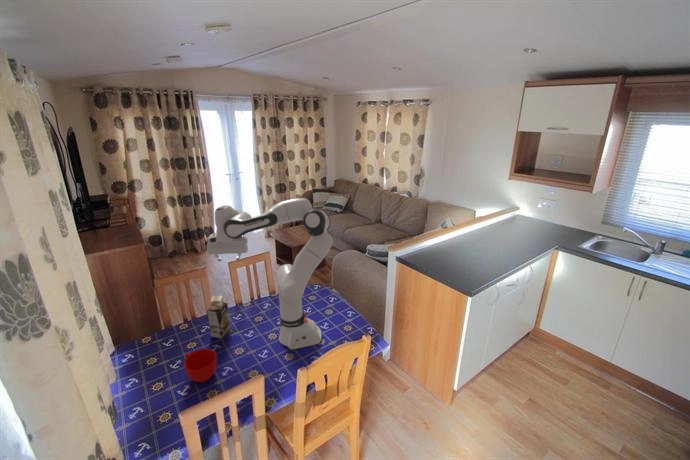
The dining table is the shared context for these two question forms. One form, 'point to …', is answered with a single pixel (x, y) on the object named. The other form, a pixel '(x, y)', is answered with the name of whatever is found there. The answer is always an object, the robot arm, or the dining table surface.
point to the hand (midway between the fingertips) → (229, 260)
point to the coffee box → (219, 321)
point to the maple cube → (216, 302)
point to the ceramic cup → (200, 364)
